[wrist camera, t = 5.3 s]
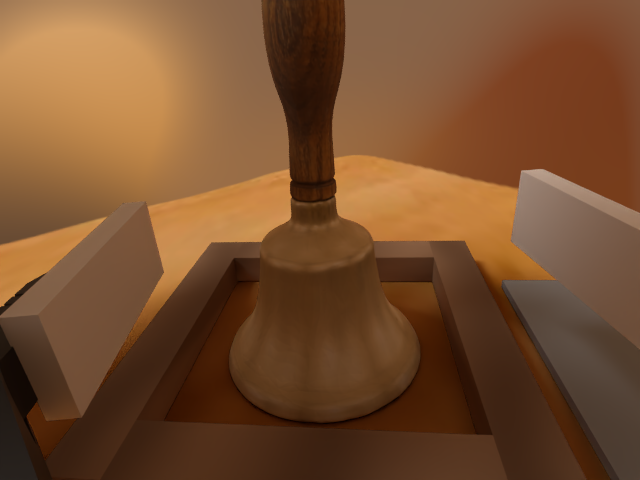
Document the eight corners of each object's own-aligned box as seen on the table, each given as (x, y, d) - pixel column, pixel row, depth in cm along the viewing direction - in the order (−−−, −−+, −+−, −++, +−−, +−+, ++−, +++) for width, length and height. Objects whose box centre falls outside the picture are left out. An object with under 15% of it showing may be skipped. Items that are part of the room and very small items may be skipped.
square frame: (51, 508, 12) (33, 476, 12) (215, 264, 26) (211, 242, 25) (588, 546, 11) (602, 510, 10) (461, 263, 24) (464, 240, 23)
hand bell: (223, 313, 21) (151, -71, 14) (375, 283, 23) (376, -70, 16) (238, 453, 14) (101, -205, 7) (460, 392, 15) (531, -175, 8)
